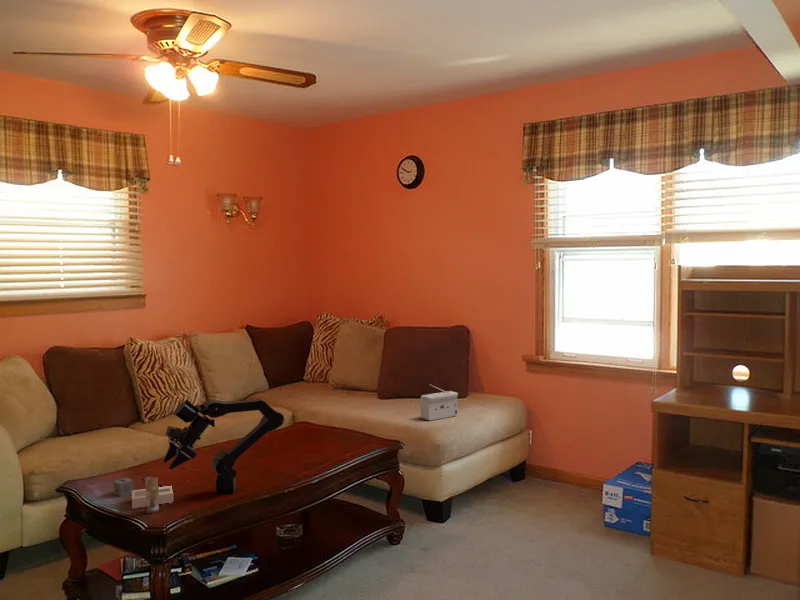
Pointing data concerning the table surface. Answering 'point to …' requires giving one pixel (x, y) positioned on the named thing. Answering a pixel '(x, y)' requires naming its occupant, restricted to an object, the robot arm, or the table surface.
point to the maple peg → (152, 493)
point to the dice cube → (123, 487)
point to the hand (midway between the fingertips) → (166, 465)
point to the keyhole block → (164, 497)
